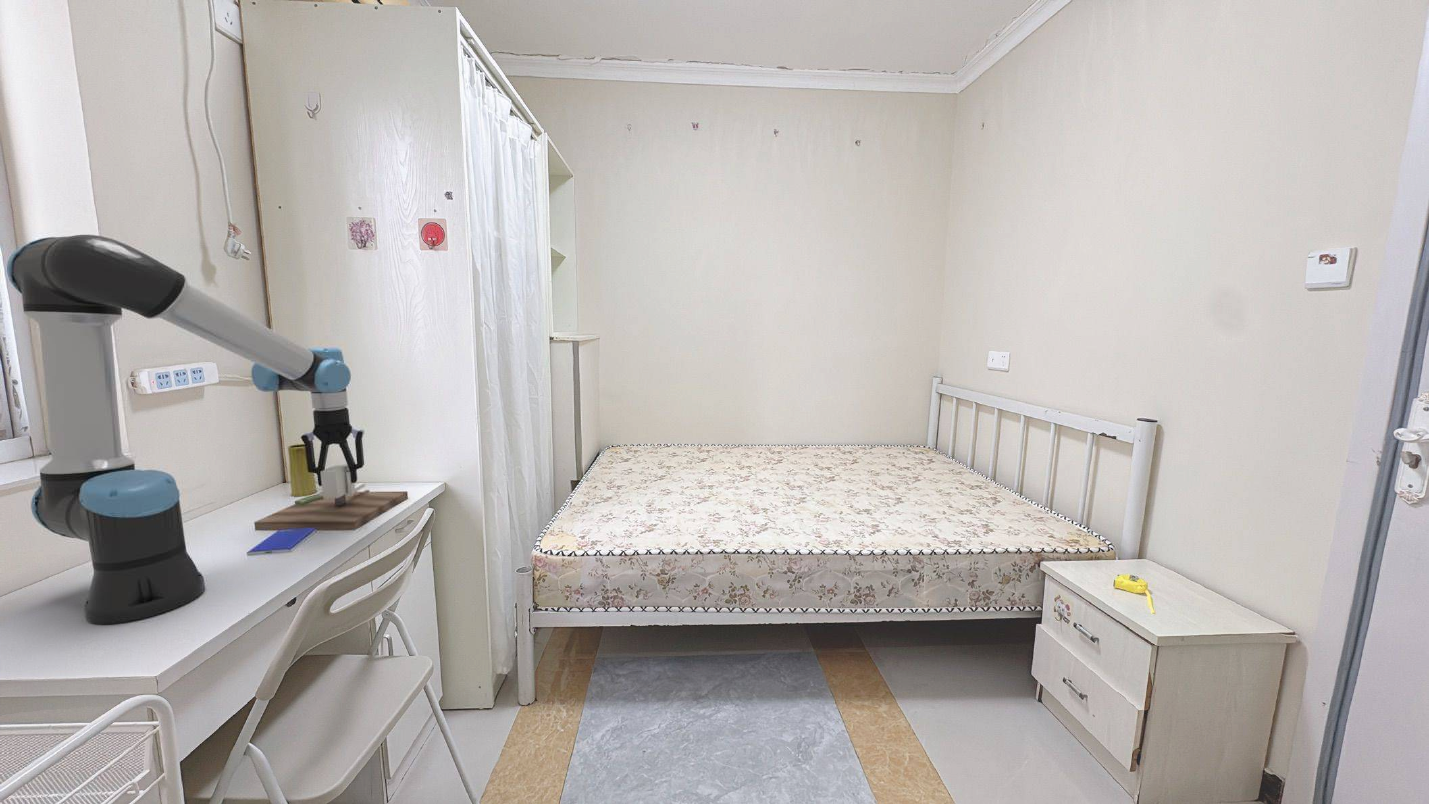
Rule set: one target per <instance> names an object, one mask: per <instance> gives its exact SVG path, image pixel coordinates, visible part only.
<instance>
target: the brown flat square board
mask: <svg viewBox="0 0 1429 804" xmlns="http://www.w3.org/2000/svg"><path fill="white" fill-rule="evenodd" d="M408 495H409V494H408V491H405V490H404V491H402V490H401V491H370V489H365V490H364V491H363V490H362V491H356V492H354V494H353V496H350V497H349V496H347V497H346V504H345V505H342V506H335V498H328V499H325V498H323V492H322V491H321V492H319V493H317V494H313V495H312V494H311V495H310V496H309V495H308V496H304V497H302V498H300V499H297V500H295V501H294V504H292V505H290V506H287V507H285V508H283V509H280V510H278V511H276V512H273V513H271V514H270V515H267V516H265V517H263V518H260V519H258V520H255V521H254V522H253V523H254V530H255V531H279V530H289V529H303V528H316V531H328V530H329V531H330V530H331V531H334V530H335V531H339V530H341V531H342V530H343V531H346V530H347V531H350V530H352V531H353V530H354V531H356V530H357V529H358V528H361V527H362V526H363V525H365V524H367V523H369V522H370V521H371V520H373V519H375V518H377V517H379V516H381V515H382V514H384V513H386V512H387V511H390V510H391V509H392V508H394V507H396V506H397V505H399V504H401V503H403V502H404V501H406V500H407V499H409V496H408Z"/></svg>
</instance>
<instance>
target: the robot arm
mask: <svg viewBox="0 0 1429 804" xmlns="http://www.w3.org/2000/svg"><path fill="white" fill-rule="evenodd" d="M6 272H7V273H6V274H7V277H8V280H9V282H10V283H11V285H12V286H13V288H14V289H15V290H16V291H18V292H19V293H20V294H21V296H22V297H21V299H22V306H23V307H22V308H23V314H24V315H26V316H27V317H29V318H30V319H32V321H33V320H34V321H35V322H36V323H37V324H38V330H39V340H40V350H41V352H40V353H41V361H42V371H43V380H44V382H43V383H44V391H45V399H46V401H45V402H46V410H47V411H46V412H47V421H48V433H49V442H50V453H51V460H50V461H49V462H47V463H46V464H45V465H44V466H42V467H41V468H40V469H39V476H40V486H39V487H38V488H37V489H36V490H35V492H34V494H33V496H32V498H31V501H30V502H31V503H30V510H31V512H32V516H33V517H34V520H36V522H37V523H38V524H39V525H40V526H42V527H43V528H45V529H47V530H48V531H50V532H51V533H53V534H57V535H59V536H61V537H66V538H72V539H78V540H82V541H85V542H88V545H89V551H90V557H91V562H92V568H93V576H92V579H91V582H90V583H91V584H90V588H89V589H90V590H89V593H88V594H89V595H88V598H87V599H86V601H85V604H84V613H85V614H84V615H85V618H86V619H85V620H87V621H88V622H89V623H92V624H95V625H96V624H99V625H110V624H111V625H112V624H120V623H128V622H132V621H137V620H141V619H145V618H150V617H154V616H157V615H160V614H163V613H166V612H169V611H172V610H174V609H177V608H179V607H181V606H182V607H183V605H187V604H188V603H191V602H192V601H194V600H195V599H196V598H198V597H200V596H201V595H202V594H203V593H204V592H205V590H206V586H205V579H204V576H203V574H202V573H201V571H198V570H199V569H198V568H197V566H196V563H194V561H193V559H192V557H191V556H190V555H189V553H188V550H187V546H186V545H187V544H186V540H185V531H184V530H185V529H184V523H183V517H182V509H181V508H182V507H181V502H180V495H181V494H180V489H179V488H178V486H177V481H176V480H175V477H174V476H173V475H171V474H169V473H167V472H165V471H162V470H156V469H144V470H142V469H136V467H135V465H136V464H135V460H134V459H133V458H131V457H129V456H127V455H125V454H124V453H123V451H122V439H121V430H120V429H121V428H120V416H119V415H120V414H119V405H118V391H117V381H116V369H115V357H114V346H113V333H112V326H113V324H114V323H116V322H117V321H118V320H121V319H122V318H123V310H126V311H130V312H133V313H135V314H137V315H140V316H141V317H144V318H146V319H148V320H149V319H150V320H151V319H152V320H153V319H162V320H164V321H166V322H168V323H170V324H172V325H174V326H177V327H178V328H181V329H182V330H185V331H187V332H190V333H191V334H193V335H195V336H197V337H200V338H201V339H203V340H205V341H209V342H210V343H212V344H215V345H217V346H219V347H221V348H223V349H225V350H227V351H230V353H233V354H236V355H237V356H240V357H242V358H244V359H245V360H249V361H250V362H252V363H254V364H253V365H252V367H251V370H250V373H251V380H252V383H253V385H254V386H255V388H256V389H258V390H259V391H261V392H265V393H266V392H268V393H269V392H275V393H276V392H280V391H297V392H310V396H311V406H312V408H313V409H314V410H313V411H312V415H313V417H312V418H313V423H314V425H313V426H314V427H313V430H312V431H310V432H309V433H307V432H306V433H304V434H302V435H301V436H300V439H301V441H302V442H303V444H305V451H306V459H307V468H308V472H309V473H314V474H316V475H317V484H318V486H319V487H322V482H321V473H320V472H321V471H323V470H325V469H326V463H327V457H328V453H329V447H330V446H331V445H338V446H339V449H341V452H342V454H343V457H344V460H345V462H346V464H347V465H348V467H349V470H348V471H347V472H346V474H347V484H348V494H349V497H350V496H353V494H354V487H353V483H354V484H355V483H357V481H358V473H357V470H359V469H362V468H363V467H364V465H365V460H364V459H365V458H364V445H363V437H364V434H365V431H364V430H363V429H356V428H353V426H352V425H351V423H350V422H351V421H350V412H349V408H348V407H347V406H348V405H349V402H348V394H347V393H348V392H347V391H348V390H347V387H348V386H349V384H350V382H351V377H352V375H351V374H352V373H351V370H350V368H349V367H348V365H347V364H346V363H345V361H344V355H343V351H342V349H341V348H338V347H313V348H311V347H310V348H307V347H304V346H302V345H301V344H298V343H297V342H295V341H293V340H291V339H289V338H287V337H285V336H284V335H282V334H280V333H279V332H276V331H275V330H272V329H270V328H269V327H267V326H265V325H264V324H262V323H260V322H258V321H257V320H255V319H253V318H251V317H249V316H247V315H245V314H244V313H241V312H239V311H238V310H236V309H234V308H232V307H231V306H230V305H227V304H225V303H223V302H221V301H219V300H218V299H216V298H214V297H212V296H210V295H208V294H207V293H205V292H203V291H201V290H199V289H197V288H196V287H194V286H192V285H190V284H189V282H188V278H187V277H186V276H185V275H184V274H182V273H180V272H179V271H177V270H175V269H173V268H172V267H170V266H168V265H166V264H164V263H163V262H160V261H159V260H157V259H155V258H153V257H152V256H149V255H148V254H146V253H144V252H142V251H140V250H138V249H136V248H134V247H132V246H130V245H128V244H126V243H123V242H120V241H119V240H116V239H113V238H110V237H105V236H102V235H95V234H74V235H71V236H57V237H56V236H50V237H42V238H38V239H35V240H32V241H30V242H28V243H25V244H22V245H21V246H20V247H18V248H17V249H16V250H15V251H13V253H12V254H10V256H9V258H8V261H7V265H6ZM122 309H123V310H122ZM351 434H352V437H353V438H354V446H355V455H356V461H355V459H354V457H353V454H352V451H351V449H350V447H349V443H348V440H347V439H348V438H349V436H350V435H351ZM315 437H316V439H318V441H320V442H321V443H320V451H319V456H318V462H317V465H316V458H315V449H314V439H315ZM325 499H328V498H325Z"/></svg>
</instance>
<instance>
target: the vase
mask: <svg viewBox="0 0 1429 804" xmlns="http://www.w3.org/2000/svg"><path fill="white" fill-rule="evenodd" d="M287 451H288V457H289V459H288V460H289V476H290V478H289V479H290V488H291V493H290V495H291V496H292V497H306V496H309V495H310V496H311V495H312V494H313V495H314V494H315V493H317V491H318V489H317V484H316V479H315V473H309V472H308V468H307V459H306V451H305V444H304V443H299V444H298V443H296V444H291V445H289V446H287Z"/></svg>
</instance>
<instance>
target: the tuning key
mask: <svg viewBox="0 0 1429 804" xmlns="http://www.w3.org/2000/svg"><path fill="white" fill-rule="evenodd" d="M348 470H349V467H348V465H347V463H337V464H334V465H332V466H330V467H328V468H325V470H323V471H321V472H320V473H321V482H322V486H321V490H322V491H321V492H323V498H335V506H342V505H345V504H346V497H347V496H349V494H348V484H347V474H346V472H347V471H348ZM353 487H354V492H359V491H360V490H362V489H363V488H365V487H366V483H365V482H359V483H358V484H356V485H355V483H353Z"/></svg>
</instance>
